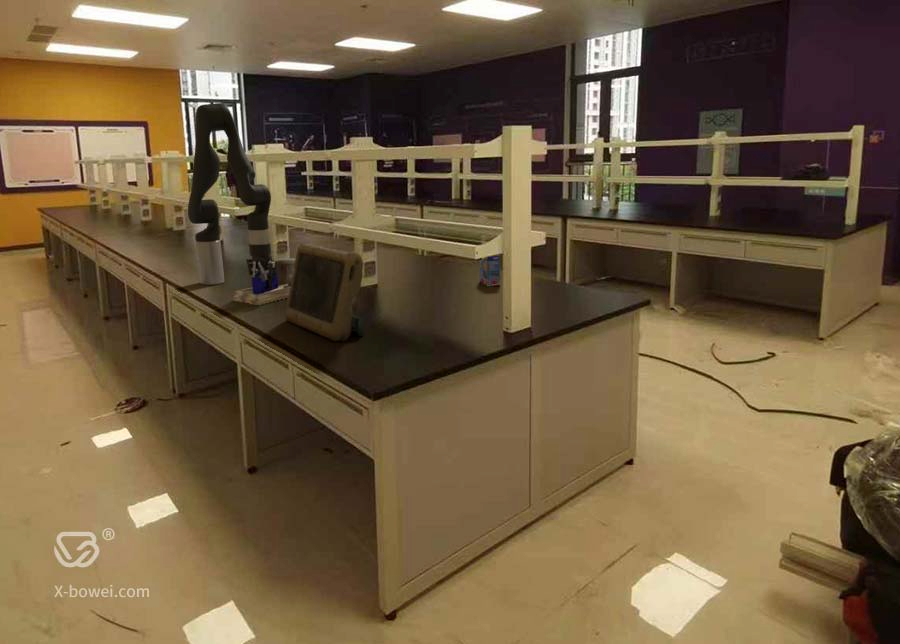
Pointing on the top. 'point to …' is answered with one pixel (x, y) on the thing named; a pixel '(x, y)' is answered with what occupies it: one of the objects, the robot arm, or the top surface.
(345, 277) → the tablet
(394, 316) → the top surface
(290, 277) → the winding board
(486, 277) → the ink cartridge box
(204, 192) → the robot arm
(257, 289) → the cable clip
